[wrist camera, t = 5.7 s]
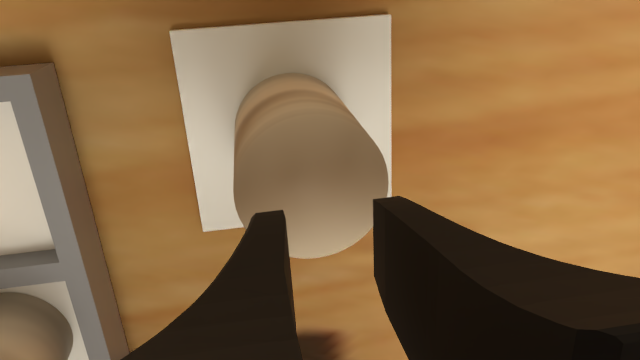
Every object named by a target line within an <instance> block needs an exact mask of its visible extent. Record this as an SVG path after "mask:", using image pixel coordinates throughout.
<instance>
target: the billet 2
mask: <svg viewBox="0 0 640 360" xmlns="http://www.w3.org/2000/svg"><path fill="white" fill-rule="evenodd" d="M388 184H389V180H388V171H387V166H386V163H385V160H384V157H383V155H382V153H381V151H380V149H379V147H378V146H377V145H376V143H375V142H374V141H373V139H372V138H371V137H370V136H369V134H368V133H367V132H366V131H365V129H364V128H363V127H362V126H361V124H360V123H359V122H358V121H357V119H356V118H355V117H354V116H353V114H352V113H351V112H350V111H349V109H348V108H347V107H346V106H345V104H344V103H343V102H342V101H341V99H340V98H339V97H338V96H337V94H336V93H335V92H334V91H333V90H332V89H331V88H330V87H329V86H328V85H327V84H325V83H324V82H322V81H321V80H319V79H317V78H315V77H312V76H310V75H306V74H301V73H284V74H278V75H275V76H272V77H269V78H267V79H265V80H263V81H262V82H260V83H258V84H257V85H256V86H255V87H253V88H252V89H251V90H250V91H249V93H248V94H247V95H246V96H245V98H244V99H243V101H242V102H241V104H240V106H239V109H238V112H237V115H236V119H235V135H234V179H233V194H234V203H235V208H236V211H237V214H238V216H239V219H240V220H241V222H242V224H243V226H244V227H245V229H246V230H247V227H248V225H249V223H250V220H251V218H252V216H253V215H254V214H255V213H259V212H268V211H276V210H283V211H284V214H285V218H286V226H287V237H288V247H289V257H294V258H305V259H309V258H319V257H325V256H329V255H332V254H335V253H338V252H340V251H342V250H345V249H346V248H348V247H350V246H352V245H353V244H355V243H356V242H357V241H359V240H360V239H361V238H362V237H364V236H365V235H366V234H367V233H368V232H369V231H370V229H371V228H372V227H373V199H378V198H387V194H388Z"/></svg>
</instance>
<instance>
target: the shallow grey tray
mask: <svg viewBox="0 0 640 360" xmlns="http://www.w3.org/2000/svg"><path fill="white" fill-rule="evenodd" d="M6 292H9V293H22V294H26V295H31V296H34V297H37V298H39V299H42V300H44V301H46V302H48V303H49V304H51V305H52V306H54V307H55V308H56V309H58V310H59V311H60V312H61V313H62V314H63V315H64V317H65V318H66V319H67V321H68V323H69V324H70V327H71V329H72V333H73V347H72V350H71V353H70V355H69V357H68V360H120V359H122V358H124V357H125V356H127V355H128V354H130V353H129V349H128V345H127V342H126V338H125V334H124V330H123V326H122V322H121V319H120V315H119V311H118V307H117V303H116V300H115V296H114V292H113V288H112V284H111V280H110V277H109V273H108V269H107V265H106V261H105V258H104V254H103V250H102V246H101V242H100V239H99V235H98V231H97V227H96V223H95V219H94V216H93V212H92V208H91V204H90V200H89V197H88V193H87V189H86V185H85V181H84V178H83V174H82V170H81V166H80V162H79V158H78V155H77V151H76V147H75V143H74V139H73V136H72V132H71V128H70V124H69V120H68V116H67V113H66V109H65V105H64V101H63V97H62V94H61V90H60V86H59V82H58V78H57V75H56V71H55V67H54V63H40V64H27V65H15V66H2V67H0V293H6Z"/></svg>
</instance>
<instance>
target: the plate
mask: <svg viewBox="0 0 640 360" xmlns="http://www.w3.org/2000/svg"><path fill="white" fill-rule="evenodd" d="M169 33H170V39H171V45H172V51H173V57H174V62H175V68H176V74H177V80H178V86H179V92H180V98H181V104H182V110H183V116H184V122H185V128H186V134H187V140H188V145H189V151H190V157H191V163H192V169H193V175H194V181H195V187H196V193H197V199H198V205H199V211H200V217H201V223H202V228H203V232H207V231H215V230H224V229H232V228H240V227H244V226H243V224H242V222H241V220H240V219H239V216H238V214H237V211H236V208H235V203H234V194H233V179H234V135H235V119H236V115H237V112H238V109H239V106H240V104H241V102H242V101H243V99H244V98H245V96H246V95H247V94H248V93H249V91H250V90H251V89H252V88H253V87H255V86H256V85H257V84H258V83H260V82H262V81H263V80H265V79H267V78H269V77H272V76H275V75H278V74H284V73H301V74H306V75H310V76H312V77H315V78H317V79H319V80H321V81H322V82H324V83H325V84H327V85H328V86H329V87H330V88H331V89H332V90H333V91H334V92H335V93H336V94H337V96H338V97H339V98H340V99H341V101H342V102H343V103H344V104H345V106H346V107H347V108H348V109H349V111H350V112H351V113H352V114H353V116H354V117H355V118H356V119H357V121H358V122H359V123H360V124H361V126H362V127H363V128H364V129H365V131H366V132H367V133H368V134H369V136H370V137H371V138H372V139H373V141H374V142H375V143H376V145H377V146H378V147H379V149H380V151H381V153H382V155H383V157H384V160H385V163H386V166H387V171H388V180H389V184H388V194H387V197H391V15H390V14H380V15H367V16H353V17H340V18H326V19H313V20H299V21H286V22H272V23H259V24H245V25H232V26H218V27H205V28H191V29H178V30H170V31H169Z"/></svg>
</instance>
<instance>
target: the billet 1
mask: <svg viewBox="0 0 640 360" xmlns="http://www.w3.org/2000/svg"><path fill="white" fill-rule="evenodd" d="M72 347H73V333H72V329H71V327H70V324H69V323H68V321H67V319H66V318H65V317H64V315H63V314H62V313H61V312H60V311H59V310H58V309H56V308H55V307H54V306H52V305H51V304H49V303H48V302H46V301H44V300H42V299H39V298H37V297H34V296H31V295H26V294H22V293H9V292H6V293H0V360H68V357H69V355H70V353H71V350H72Z"/></svg>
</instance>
